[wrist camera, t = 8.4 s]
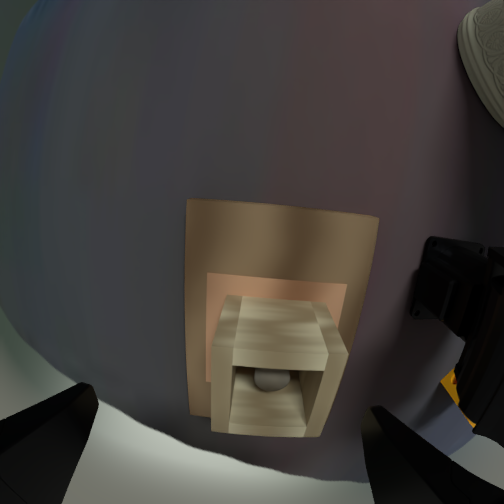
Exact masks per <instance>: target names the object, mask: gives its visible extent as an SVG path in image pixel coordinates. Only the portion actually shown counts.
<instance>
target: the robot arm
mask: <svg viewBox="0 0 504 504" xmlns="http://www.w3.org/2000/svg"><path fill="white" fill-rule="evenodd" d="M433 241H434V245H433V246H432V242H433ZM479 250H480V252H479ZM484 252H485V247H484V246H483V245H481V244H478V243H472V242H466V241H461V240H455V239H448V238H442V237H436V236H430V237H429V238H428V239H427V242H426V248H425V253H424V258H423V262H422V265H421V268H420V273H419V277H418V281H417V285H416V289H415V293H414V299H413V302H412V306H411V309H410V315H411V316H412V317H413V318H414V319H439V320H440V321H442V322H443V323H444V324H445V325H446V326H447V327H448V328H449V329H450V330H451V331H453V332H454V333H455V334H456V335H457V336H458V337H460V338H461V339H462V340H463V341H464V342H465V346H464V349H463V351H462V354H461V357H460V359H459V362H458V363H457V364H456V366H455V368H454V374H455V377H456V381H457V384H456V391H457V394H458V398H459V402H458V407H459V408H460V410H461V411H462V412H463V414H464V415H465V416H466V417H467V418H468V419H469V420H470V421H471V422H473V423H474V424H476V425H475V427H474V428H473V430H472V432H473V433H474V434H477V435H481V436H485V437H487V438H490V439H491V440H493V441H495V442H497V443H498V444H499V445H501V446H502V447H503V448H504V247H489V249H488V255H487V256H488V258H486V257H484ZM417 310H418V311H417ZM416 311H417V313H416V314H415V312H416ZM98 405H99V403H98V399H97V397H96V394H95V391H94V389H93V387H92V385H90V384H87V383H83V382H81V383H78V384H76V385H74V386H72V387H70V388H68V389H66V390H64V391H62V392H60V393H58V394H56V395H54V396H52V397H50V398H48V399H46V400H44V401H41V402H39V403H38V404H35V405H33V406H31V407H29V408H27V409H24V410H22V411H20V412H18V413H16V414H14V415H12V416H9V417H7V418H6V419H2V420H0V504H61V503H62V501H63V499H64V496H65V493H66V491H67V488H68V486H69V483H70V481H71V478H72V476H73V473H74V471H75V469H76V466H77V464H78V461H79V459H80V457H81V455H82V452H83V450H84V448H85V445H86V443H87V440H88V438H89V435H90V431H91V428H92V425H93V422H94V419H95V416H96V413H97V410H98ZM361 434H362V441H363V449H364V457H365V464H366V469H367V474H368V478H369V482H370V486H371V489H372V494H373V498H374V502H375V504H504V490H503V489H501V488H499V487H497V486H495V485H493V484H490V483H489V482H487V481H485V480H483V479H481V478H479V477H477V476H476V475H474V474H472V473H471V472H469V471H467V470H466V469H464V468H463V467H461V466H460V465H459V464H457V463H456V462H454V461H452V460H451V459H450V458H449V457H447V456H446V455H445V454H443V453H442V452H441V451H439V450H438V449H437V448H435V447H434V446H433V445H431V444H430V443H429V442H427V441H426V440H425V439H423V438H422V437H421V436H419V435H418V434H417V433H415V432H414V431H413V430H412V429H410V428H409V427H408V426H406V425H405V424H404V423H402V422H401V421H400V420H399V419H397V418H396V417H395V416H394V415H392V414H391V413H390V412H388V411H387V410H386V409H385V408H383V407H382V406H379V405H378V406H370V407H369V408H368V409H367V411H366V413H365V415H364V418H363V420H362V423H361Z"/></svg>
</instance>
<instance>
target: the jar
mask: <svg viewBox="0 0 504 504" xmlns="http://www.w3.org/2000/svg"><path fill="white" fill-rule="evenodd" d="M457 38H458V46H459V51H460V55H461V58H462V61H463V64H464V67H465V69H466V72H467V74H468V76H469V79H470V81H471V83H472V85H473V87H474V89H475V90H476V92H477V94H478V96H479V97H480V99H481V101H482V102H483V104H484V105H485V107H486V108H487V110H488V111H489V112H490V114H491V115H492V116H493V118H494V119H495V120H496V121H497V122H498V123H499V124H500V125H501V126H502V127H503V128H504V0H491V1H490V2H488V3H486V4H485V5H483V6H482V7H478V8H475V9H473V10H472V11H470V12H469V13H467V14H466V16H465V17H464V19H463V20H462V21H461V23H460V25H459V27H458V34H457Z"/></svg>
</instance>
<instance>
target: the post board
mask: <svg viewBox="0 0 504 504" xmlns="http://www.w3.org/2000/svg"><path fill="white" fill-rule="evenodd" d="M378 224H379V218H377V217H374V216H369V215H362V214H355V213H347V212H339V211H331V210H323V209H314V208H305V207H295V206H286V205H275V204H265V203H253V202H241V201H228V200H214V199H198V198H191V199H187V209H186V234H185V337H186V362H187V380H188V395H189V408H190V414H191V415H197V416H203V417H210V418H211V346H212V342H213V339H214V336H215V332H216V329H217V326H218V322H219V319H220V316H221V313H222V309H223V306H224V303H225V300H226V296H227V294H228V295H238V296H249V297H260V298H271V299H283V300H297V301H311V302H325V303H326V305H327V307H328V310H329V312H330V314H331V316H332V318H333V320H334V323H335V325H336V327H337V329H338V331H339V334H340V336H341V338H342V340H343V343H344V345H345V347H346V350H347V352H348V354H349V355H350V351H351V348H352V344H353V341H354V337H355V334H356V330H357V326H358V322H359V319H360V315H361V311H362V307H363V302H364V298H365V294H366V289H367V285H368V280H369V275H370V270H371V265H372V260H373V255H374V249H375V243H376V237H377V231H378ZM349 355H348V358H349ZM348 358H347V361H348ZM347 361H346V364H347ZM345 368H346V365H345ZM345 368H344V371H345ZM344 371H343V374H344ZM343 374H342V377H343ZM342 377H341V380H342ZM254 380H255V383H256V385H257V386H258V387H259V388H261V389H263V390H265V391H278V390H281V389H283V388H284V387H286V386H287V385H288V383H289V381H290V373H289V370H287V369H270V368H257V367H255V377H254ZM341 380H340V383H341ZM340 383H339V386H340ZM339 386H338V389H339ZM338 389H337V392H338ZM337 392H336V395H337ZM336 395H335V397H336ZM334 400H335V398H334ZM334 400H333V403H334ZM333 403H332V406H333ZM332 406H331V408H332ZM330 411H331V409H330ZM330 411H329V414H330ZM329 414H328V416H329ZM327 419H328V417H327ZM327 419H326V422H327ZM326 422H325V424H326Z"/></svg>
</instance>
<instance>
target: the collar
mask: <svg viewBox="0 0 504 504" xmlns="http://www.w3.org/2000/svg"><path fill="white" fill-rule="evenodd" d="M348 355H349V354H348V352H347V350H346V347H345V345H344V343H343V340H342V338H341V336H340V334H339V331H338V329H337V327H336V325H335V323H334V320H333V318H332V316H331V314H330V312H329V310H328V307H327V305H326V303H325V302H311V301H297V300H283V299H271V298H260V297H249V296H238V295H228V294H227V296H226V300H225V303H224V306H223V309H222V313H221V316H220V319H219V322H218V326H217V329H216V332H215V336H214V339H213V342H212V346H211V431H215V432H223V433H232V434H242V435H255V436H273V437H320V434H321V432H322V429H323V427H324V424H325V422H326V419H327V417H328V414H329V411H330V409H331V406H332V403H333V400H334V398H335V395H336V392H337V389H338V386H339V383H340V380H341V377H342V374H343V371H344V368H345V365H346V361H347V358H348ZM255 367H257V368H270V369H287V370H289V373H290V381H289V383H288V385H287V386H286V387H284V388H283V389H281V390H278V391H265V390H263V389H261V388H259V387H258V386H257V385H256V383H255V380H254V377H255Z"/></svg>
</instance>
